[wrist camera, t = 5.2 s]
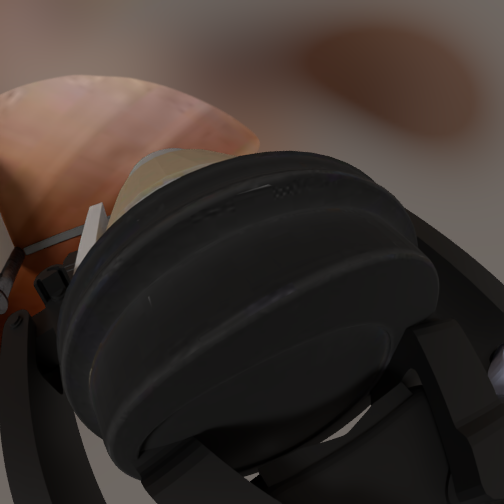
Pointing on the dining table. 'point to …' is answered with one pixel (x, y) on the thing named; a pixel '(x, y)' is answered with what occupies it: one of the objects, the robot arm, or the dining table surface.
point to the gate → (4, 244)
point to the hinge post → (9, 276)
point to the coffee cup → (239, 305)
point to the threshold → (55, 239)
